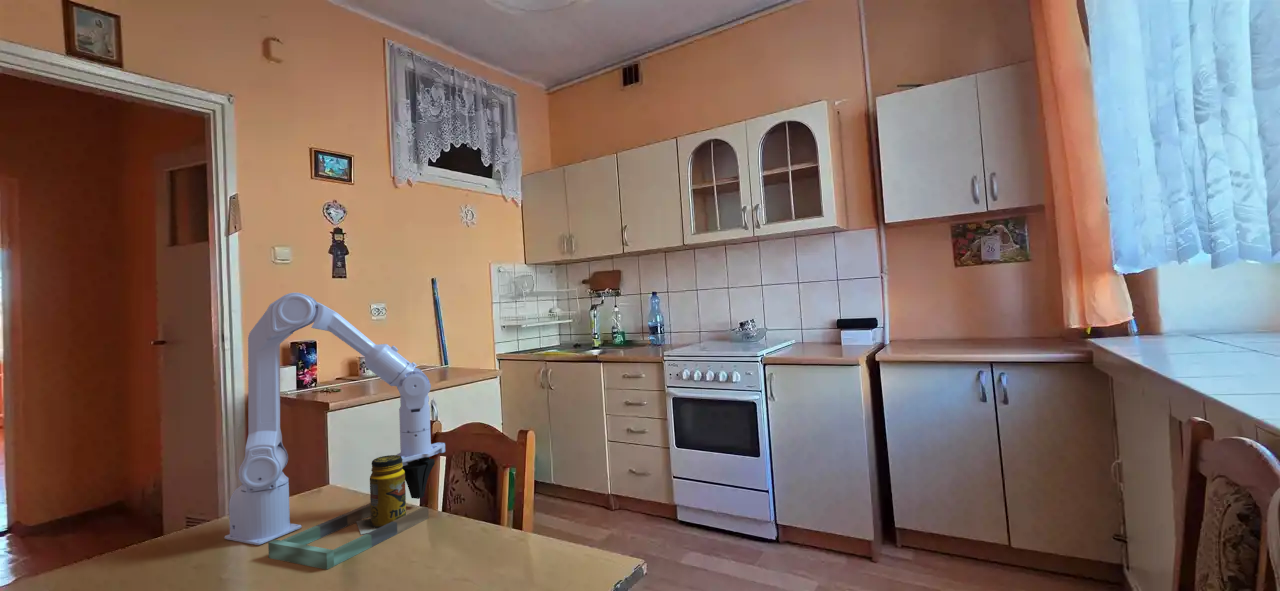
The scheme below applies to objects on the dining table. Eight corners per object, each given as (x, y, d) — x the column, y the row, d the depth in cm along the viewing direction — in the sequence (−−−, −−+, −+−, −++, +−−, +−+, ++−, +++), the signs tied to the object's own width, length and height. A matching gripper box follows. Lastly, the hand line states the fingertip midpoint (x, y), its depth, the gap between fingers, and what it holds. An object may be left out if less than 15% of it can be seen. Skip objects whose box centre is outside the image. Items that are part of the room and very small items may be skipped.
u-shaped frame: (268, 557, 90) (268, 542, 90) (376, 510, 110) (375, 498, 110) (327, 569, 85) (326, 553, 85) (428, 518, 105) (428, 504, 105)
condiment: (411, 523, 102) (409, 458, 103) (361, 535, 98) (359, 467, 98) (404, 512, 109) (402, 451, 109) (356, 523, 104) (354, 459, 104)
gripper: (402, 439, 103) (404, 512, 103) (455, 422, 117) (458, 487, 116) (374, 437, 106) (376, 508, 106) (429, 421, 119) (431, 484, 119)
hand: (417, 497), depth 111 cm, fingers closed
